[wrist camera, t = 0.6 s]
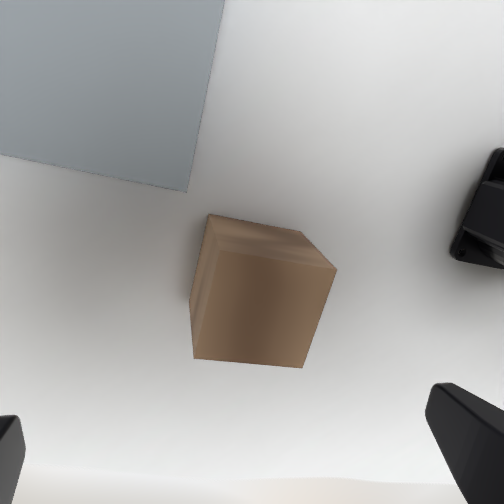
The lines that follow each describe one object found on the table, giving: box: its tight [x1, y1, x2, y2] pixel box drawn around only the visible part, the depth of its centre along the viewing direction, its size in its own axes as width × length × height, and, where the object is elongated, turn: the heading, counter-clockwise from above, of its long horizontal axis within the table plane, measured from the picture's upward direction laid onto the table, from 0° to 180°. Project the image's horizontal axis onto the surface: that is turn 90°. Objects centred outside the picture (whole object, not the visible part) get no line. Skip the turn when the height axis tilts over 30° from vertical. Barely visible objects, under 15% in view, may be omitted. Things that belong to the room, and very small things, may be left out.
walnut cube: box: [189, 214, 337, 368], centre depth 18 cm, size 5×5×5 cm
